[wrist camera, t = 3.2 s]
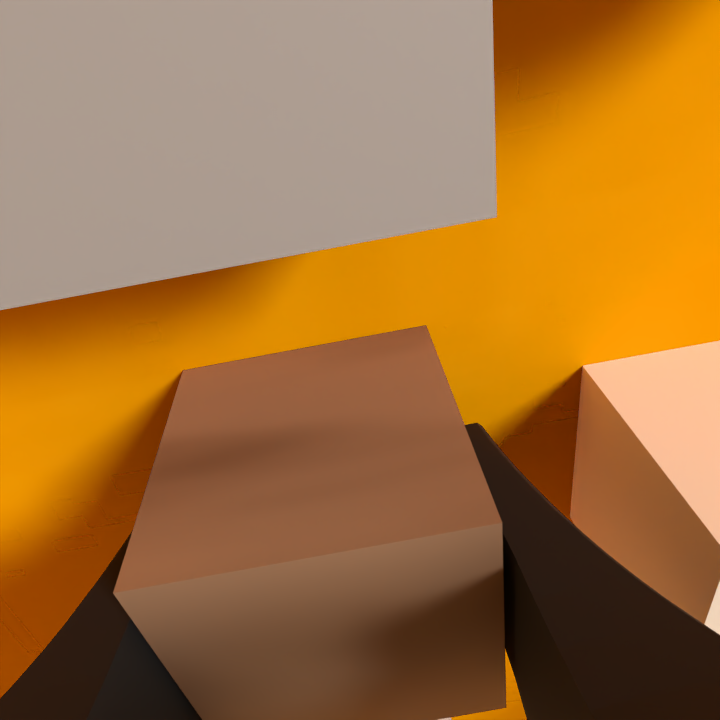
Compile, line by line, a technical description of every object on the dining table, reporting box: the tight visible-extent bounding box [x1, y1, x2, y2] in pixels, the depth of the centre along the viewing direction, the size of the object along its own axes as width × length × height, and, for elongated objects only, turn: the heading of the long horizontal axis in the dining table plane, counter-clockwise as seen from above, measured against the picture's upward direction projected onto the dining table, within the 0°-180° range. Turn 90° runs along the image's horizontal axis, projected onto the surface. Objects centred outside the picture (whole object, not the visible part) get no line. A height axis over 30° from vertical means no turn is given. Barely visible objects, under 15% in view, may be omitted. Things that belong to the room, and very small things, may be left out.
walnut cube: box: [113, 325, 506, 720], centre depth 10 cm, size 5×5×5 cm
